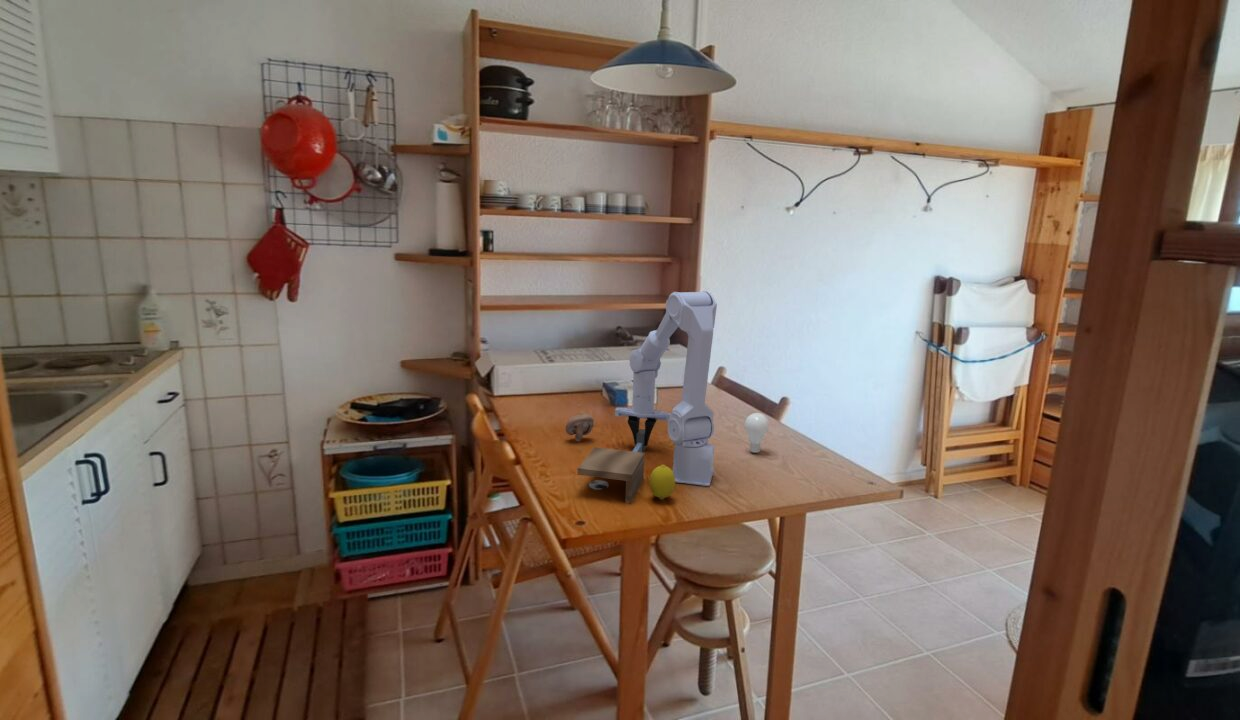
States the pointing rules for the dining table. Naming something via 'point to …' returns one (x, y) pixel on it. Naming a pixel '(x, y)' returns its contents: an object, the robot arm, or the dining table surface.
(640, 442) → the scraper
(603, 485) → the token
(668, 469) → the lemon
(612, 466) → the shelf
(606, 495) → the dining table surface
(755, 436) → the lightbulb
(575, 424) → the mushroom
